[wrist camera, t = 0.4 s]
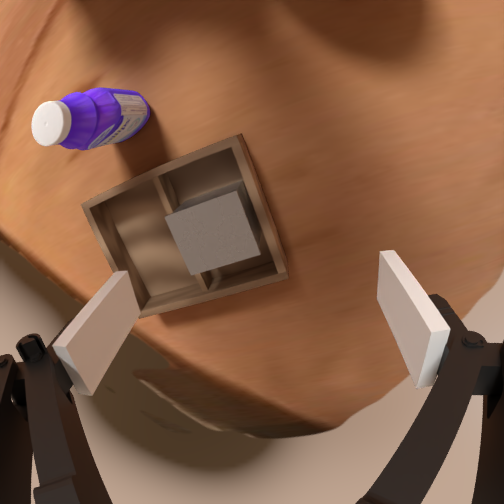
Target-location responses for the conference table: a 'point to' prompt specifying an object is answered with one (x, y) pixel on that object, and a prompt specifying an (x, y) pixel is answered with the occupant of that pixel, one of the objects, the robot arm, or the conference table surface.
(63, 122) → the bottle
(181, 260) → the crate
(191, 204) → the block
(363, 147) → the conference table surface
